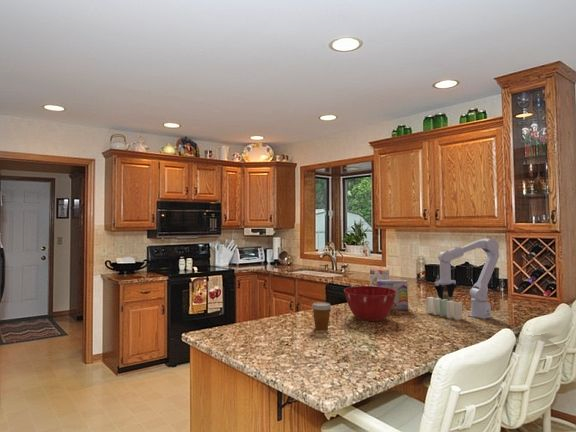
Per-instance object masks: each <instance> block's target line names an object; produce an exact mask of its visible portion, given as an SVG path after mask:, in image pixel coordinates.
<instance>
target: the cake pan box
mask: <svg viewBox="0 0 576 432" xmlns="http://www.w3.org/2000/svg"><path fill="white" fill-rule="evenodd" d="M377 287H384V288H390V289H393V290H395V291H396V292H397V293H396V295H395V299H394V302H393V305H392V307H391V309H390V310H396V311H397V310H399V311H400V310H401V311H402V310H403V311H406V310H409V292H408V291H409V289H408V280H407V279H389V280H377Z"/></svg>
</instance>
